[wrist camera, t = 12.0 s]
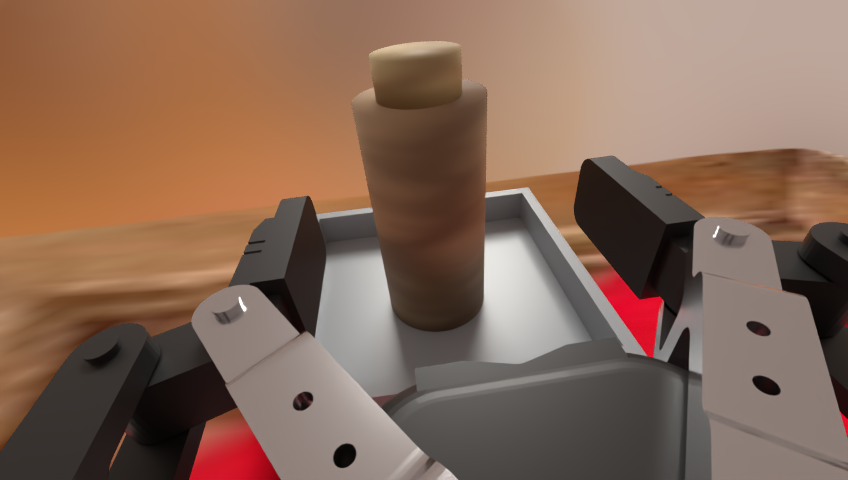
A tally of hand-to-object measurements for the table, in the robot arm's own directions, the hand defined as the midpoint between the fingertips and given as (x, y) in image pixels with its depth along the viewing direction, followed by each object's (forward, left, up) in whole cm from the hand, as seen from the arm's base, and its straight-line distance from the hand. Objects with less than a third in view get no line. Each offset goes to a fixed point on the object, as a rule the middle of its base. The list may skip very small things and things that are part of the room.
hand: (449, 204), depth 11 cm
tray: (0, +5, -9) cm, 10 cm away
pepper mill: (0, +5, -9) cm, 10 cm away
